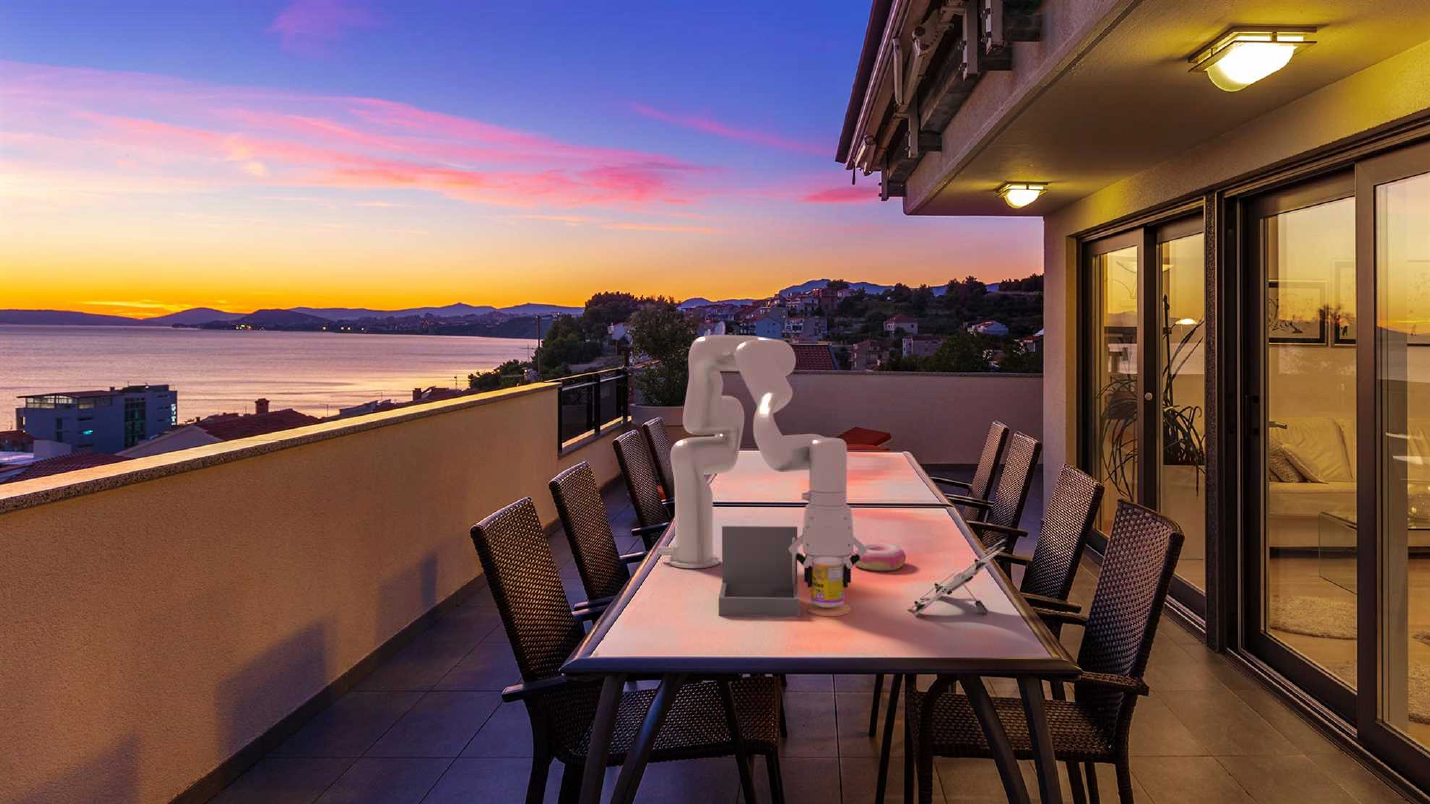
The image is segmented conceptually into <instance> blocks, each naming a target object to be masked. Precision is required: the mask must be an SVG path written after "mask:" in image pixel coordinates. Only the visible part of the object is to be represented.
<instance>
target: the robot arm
mask: <svg viewBox="0 0 1430 804" xmlns="http://www.w3.org/2000/svg"><path fill="white" fill-rule="evenodd" d="M796 361H797V359H796V354H795V351H794V349H793V347H792V346H791V345H790V344H789V343H788V342H786V341H784V340H782V339H776V338H769V337H762V336H755V335H735V334H732V335H730V334H711V335H703V336H700V337H698V338H696V339H695V340H694V341H693V343H692V344H691V346H690V348H689V351H688V361H687V362H688V383H687V388H686V395H685V401H684V406H683V407H684V408H683V414H682V424H683V428H684V430H685V432H687V433H689V434H691V435H695V436H698V437H686V438H683V439H679V440H678V441H676V442H675V443H674V444H673V445H672V447H671V450H670V455H669V456H670V457H669V458H670V464H671V468H672V474H673V483H674V484H673V485H674V529H675V530H674V532H675V533H674V536H675V537H674V538H675V539H674V540H675V542H674V544H673V545H670V546H665V545H661V546H658V547H657V554H658V555H661V556H670V557H669V559H668V560H669V561H668V562H669V564H670V565H671V566H673V567H676V568H681V569H705V568H711V567H714V566H717V565H718V564H720V557H719V556H718V555H716V554H714V504H713V503H714V502H713V501H714V499H713V496H714V495H713V490H712V487H711V486H710V483H709V482H708V480H707V479H706V477H705V476H707V475H715V474H725V473H728V472H731V471H732V470H733V468H735V466H736V464H737V461H738V458H739V453H740V449H741V448H740V447H741V442H742V436H743V432H744V424H745V410H744V407H743V405H742V403H741V402H740V400H739V399H738V398H737V397H734V396H731V395H722V394H723V388H724V381H723V379H724V378H723V376H722V374H721V372H739V373H740V376H741V378H742V380H743V382H744V383H745V386H746V387H747V389H748V391H749V393H750V395H751V397H752V399H753V401H754V403H755V405H756V409H755V413H754V416H753V422H752V423H753V424H752V425H753V427H752V428H753V429H752V431H753V438H754V441H755V443H756V446H757V448H758V450H759V453H760V454H761V456H762V458H763V459H764V461H765V463H766V464H767V465H768V467H770V468H771V469H772V470H773V471H775V472H777V473H778V472H779V473H789V472H799V471H808V472H809V474H808V477H809V478H808V479H809V480H808V483H809V484H808V488H809V489H808V491H807V492H802V493H801V499H802V500H803V501H804V500H805V501H807V502H808V504H806V505H805V509H804V513H803V522H802V534H801V535H800V536H799V537H797V539H796V540H795V541H794V542H793V543H792V544H791V545H790V546H789V547H788V549H789V551H790V552H791V553H792V554H793V555H794V556H795V558H796V559H797V562H799V563H800V564H801V565H802V566H803V582H804V583H807V588H811V581H812V568H811V561H812V559H813V557H814V556H833V557H842V558H843V560H844V589H848V585H849V584H851V583H852V568H853V567H854V566H855V563H856V562H858V561H859V559H860V558H861V557H862V556H863V555H864V554H865V553H866V552H867V548H866V547H865V546H864V545H863V544H864V543H862V542H861V541H859V539H858V538H856V536H854V523H853V515H852V507H851V506H850V505H849V504H847V498H848V497H847V492H848V491H847V485H848V484H847V481H848V480H847V479H848V478H847V477H848V476H847V475H848V474H847V472H848V471H847V469H848V468H847V463H848V462H847V461H848V458H847V457H848V456H847V455H848V453H847V452H848V447H847V443H846V441H845V440H844V439H843V438H838V437H826V436H823V435H820V434H818V433H804V434H787V435H785V434H784V435H783V434H782V433H781V431H780V429H779V428H778V426H777V423H776V421H775V418H774V414H775V413H777V412H778V411H780V410H782V409H783V408H784V407H785V406H786V405H788V403H789V402H790V401H791V400H792V397H793V388H792V386H791V385H790V383H789V381H788V380H787V378H786V376H789V375H790V374H792V373H793V371H794V369H795V367H796V364H797V363H796ZM720 371H721V372H720ZM706 435H707V436H706ZM709 435H714V436H709ZM801 545H802V550H803V553H804V554H805V555H803V554H802V553H801V552H800V551H799V550H798V548H799V547H800V546H801ZM855 546H856V547H857V548H858V551H857V552H856V553H855V554H853V555H852V556H851V557H850V555H851V554H852V553H853V548H854V547H855Z"/></svg>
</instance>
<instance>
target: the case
mask: <svg viewBox="0 0 1430 804" xmlns="http://www.w3.org/2000/svg"><path fill="white" fill-rule="evenodd" d="M796 539H798V526H792V525H791V526H788V525H787V526H785V525H784V526H783V525H781V526H780V525H779V526H777V525H776V526H775V525H774V526H772V525H771V526H770V525H760V526H759V525H722V526H721V567H722V568H721V571H722V573H721V574H722V575H721V580H722V582H721V587H720V590H719V591H720V592H719V594H718V616H728V617H730V616H731V617H733V616H736V617H787V618H788V617H790V618H791V617H794V618H795V617H797V618H799V617H800V596H799V595H800V594H799V593H800V592H799V585H798V560H797V559H796V558H795V556H794V555H793V554H792V553H791V552H790V551H789V549H788V547H789V546H790V545H791V544H792V543H793V542H794V541H795V540H796Z"/></svg>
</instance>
